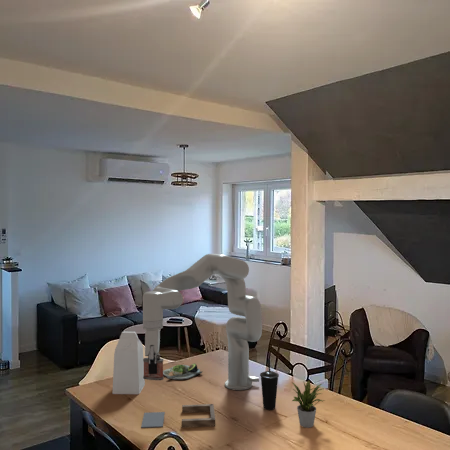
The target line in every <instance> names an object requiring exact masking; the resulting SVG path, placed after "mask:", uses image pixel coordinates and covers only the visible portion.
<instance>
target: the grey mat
mask: <svg viewBox="0 0 450 450" xmlns="http://www.w3.org/2000/svg"><path fill="white" fill-rule="evenodd" d="M164 420H165V411H153V412H144V413H143V417H142V421H141V426H140V428H141V429H146V428H147V429H148V428H164Z"/></svg>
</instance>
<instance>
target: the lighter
mask: <svg viewBox="0 0 450 450" xmlns="http://www.w3.org/2000/svg"><path fill="white" fill-rule="evenodd" d="M154 355H155V354H154ZM154 358H155V357H154ZM143 361H144V376H143V379H145V380H147V381H148V380H149V381H163V380H164V377H165V376H164V375H163V371H164V359H163V358H161V353H158V355H157V356H156V363H157V374H149V371H148V363H149V354H148V355H147V356H146V357H143Z"/></svg>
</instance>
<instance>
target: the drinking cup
mask: <svg viewBox="0 0 450 450" xmlns="http://www.w3.org/2000/svg"><path fill="white" fill-rule="evenodd" d="M259 376H260V383H261V385H260V386H261V393H262V394H261V396H262V405H263V406H262V407H263V409H264V410H267V411H273V410H275V409H276V404H277V394H278V393H277V392H278V380H279V377H280V374H279V373H278V372H276V371H272V370H271V358H269V359H268V370H265V371H263V372H262V371H261V372H260V374H259Z"/></svg>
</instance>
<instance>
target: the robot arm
mask: <svg viewBox="0 0 450 450" xmlns="http://www.w3.org/2000/svg"><path fill="white" fill-rule="evenodd" d="M249 271H250V268H249V264H248V263H247V262H246V261H245V260H244V259H239V258H236V257H232V256H229V255H226V254H219V253H207V254H205V255H203V256H202V257H201V258H199V259H198V260H197V261H196V262H195V263H193V264H192V265H191V266H190V267H189V268H187V269H186V270H184V271H181V272H179V273H176V274H174V275H172V276H169V277H167V278H165V279H164V280H163V281H161V282H160V283H159V284H158V285H156V286H155V287H153V289H152V290H151V291H150V290H148V291H145V292H144V293H143V294H142V329H143V330H145V331H144V332H145V334H144V335H145V337H144V357H148V356H147V355H148V354H149V363H148V371H149V374H157V363H156V356H157V355H158V354H159V353H160V352H159V351H160V344H161V343H160V342H161V340H160V339H161V329H163V328H164V317H163V315H164V314H163V313H164V310H176V309H178V308H179V307H180V306H181V305H182V304H183V300H184V298H183V295H182V293H181V292H180V291H185V290H191V289H195V288H196V289H197V287H200V286H201V285H202V284H203V283H204V282H205V281H207V280H208V279H209V278H210V277H211V276H213V275H218V276H219V277H221V278H222V279H223V280H224V282H225V284H226V289H227V307H228V308H227V309H228V311H229V313H231V314H232V315H235V316H232V317H230V318H229V319H227V322H226V325H225V332H226V339H227V345H228V346H227V348H228V350H227V354H228V355H227V362H228V365H227V371H228V373H227V376H228V377H227V380H226V381H225V382H224V386H225V387H226V388H227V389H229V390H233V391H246V390H249V389H250V388H252V387H253V382H255V383H258V382H260V377H259V376H258V377H257V376H256V375H255V376H252V375H250V372H249V371H250V363H249V362H250V361H249V360H250V357H249V354H250V353H249V351H250V350H249V349H250V348H249V343H248V342H251V343H253V342H254V343H255V342H258V341H259V340H260V339H261V337H262V332H263V318H262V317H263V315H262V313H263V312H262V305H261V302H260V300H259V298H257V297H255V296H253V295H252V296H251V295H248V294H247V288H246V282H245V278H247V277H248V275H249ZM154 354H155V355H154ZM154 357H155V358H154Z"/></svg>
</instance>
